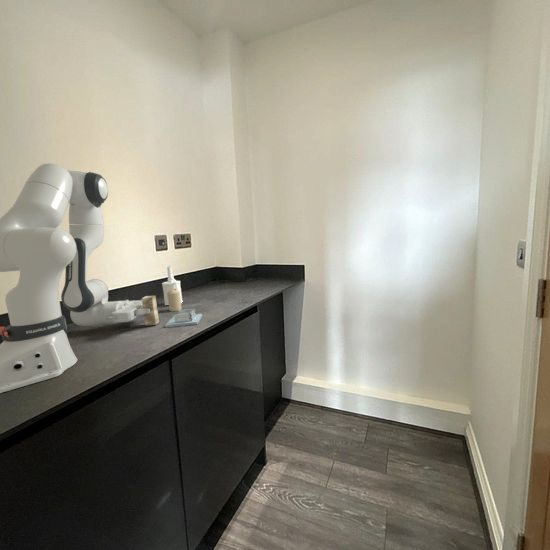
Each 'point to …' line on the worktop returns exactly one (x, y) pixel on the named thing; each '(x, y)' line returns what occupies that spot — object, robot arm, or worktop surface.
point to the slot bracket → (185, 315)
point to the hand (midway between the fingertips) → (152, 308)
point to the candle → (174, 300)
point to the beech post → (153, 315)
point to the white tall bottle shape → (171, 285)
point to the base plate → (193, 322)
